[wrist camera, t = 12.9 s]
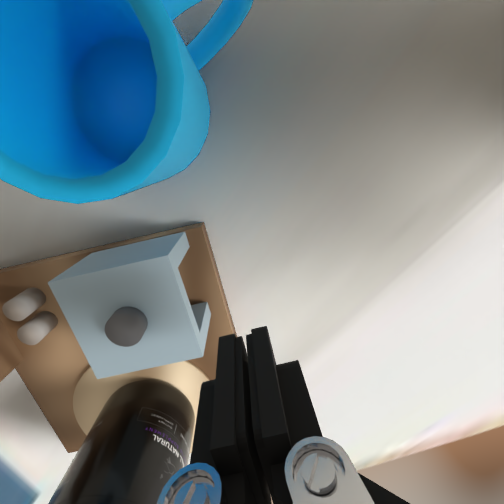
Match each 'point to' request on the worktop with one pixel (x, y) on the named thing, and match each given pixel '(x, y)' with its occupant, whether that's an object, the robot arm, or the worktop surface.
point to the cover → (133, 307)
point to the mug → (103, 93)
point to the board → (70, 353)
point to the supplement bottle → (131, 447)
